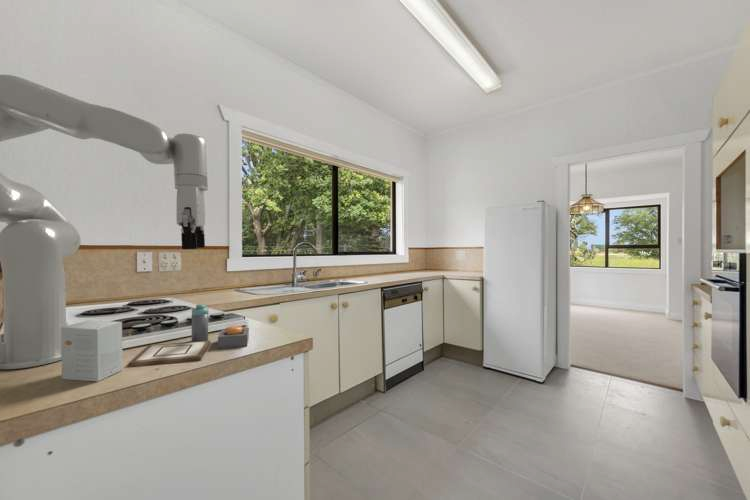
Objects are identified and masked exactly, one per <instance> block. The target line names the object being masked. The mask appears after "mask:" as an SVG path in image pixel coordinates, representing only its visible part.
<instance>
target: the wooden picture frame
mask: <svg viewBox="0 0 750 500" xmlns="http://www.w3.org/2000/svg"><path fill="white" fill-rule="evenodd" d="M210 345H211V340H208V341H199V342H192V341H187V342H186V341H185V342H173V343H159V344H157V343H156V344H148V345H147V346H146V347H145V348H143V350H141V351H140V352H139V353H138V354H137V355H136V356H135V357H134V358H132V359H131V360H130V361H129V362H128V367H139V366H150V365H161V364H163V365H164V364H172V363H173V364H174V363H175V364H176V363H183V362H184V363H185V362H195V361H196V362H197V361H202V359H203V357H204V355H205V353H206V352H207V350H208V349H209V346H210Z"/></svg>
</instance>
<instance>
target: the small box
mask: <svg viewBox="0 0 750 500" xmlns="http://www.w3.org/2000/svg"><path fill="white" fill-rule="evenodd" d="M123 358H124V357H123V322H122V321H111V320H110V321H108V320H107V321H106V320H85V321H81V322H76V323H73V324H68V325H66V326H64V327H61V360H60V361H61V379H62V380H68V381H69V380H70V381H82V382H96V383H97V382H100V381H103V380H104V379H106V378H108V377H110V376H113V375H115V374H117V373H119V372H121V371H123V369H124V368H123V367H124V365H123Z"/></svg>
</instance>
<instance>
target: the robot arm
mask: <svg viewBox="0 0 750 500" xmlns="http://www.w3.org/2000/svg"><path fill="white" fill-rule="evenodd" d="M48 129H49V130H50V129H51V130H53V131H56V132H59V133H62V134H64V135H68V136H70V137H73V138H76V139H80V140H90V139H95V140H96V139H97V140H101V141H105V142H107V143H108V142H109V143H111V144H114V145H118V146H120V147H123V148H126V149H129V150H132V151H134V152H137V153H139V154H140V155H141V156H142V157H143V158H144V159H145V160H146V161H148V162H149V163H152V164H155V165H172V164H173V174H174V175H173V176H174V179H173V180H174V189H176V224H177V226H179V227H181V229H180V232H181V234H180V236H181V249H182V250H196V249H200V248H202V249H203V248H205V247H206V243H205V242H206V240H205V239H206V238H205V228H204V226H205V224H206V210H205V208H206V206H205V195H204V192H205V191H208V188H209V187H208V167H207V165H208V163H207V160H208V159H207V144H206V141H205V139H204V138H203V137H201V136H199V135H197V134H192V133H177V134H176V135H174V136H173V137H169V136H168V135H167V134H166V132H165V131H164V129H161V127H159V126H157V125H155V124H154V123H151V122H149V121H147V120H144V119H141V118H139V117H137V116H133V115H132V114H129V113H127V112H124V111H122V110H119V109H118V110H117V109H115V108H111V107H107V106H101V105H99V104H94V103H89V102H87V101H84V100H81V99H78V98H76V97H73V96H70V95H67V94H64V93H63V92H59V91H57V90H55V89H52V88H49V87H46V86H44V85H41V84H39V83H36V82H34V81H31V80H28V79H25V78H22V77H20V76H15V75H12V74H11V75H10V74H0V142H5V141H9V140H12V139H17V138H21V137H23V136H24V137H25V136H28V135H33V134H37V133H40V132H43V131H46V130H48ZM0 222H1V223H5V224H7V225H6V226H4V228H2V229H1V231H0V266H1V272H2V273H1V274H2V293H3V341H2V342H0V370H19V369H28V368H34V367H39V366H42V365H48V364H53V363H55V362H58V361H62V360H61V327H64V326H67V299H66V298H67V293H66V292H67V290H66V289H67V288H66V273H65V267H64V263H63V259H64V258H68V257H70V256H72V255H73V254H75V253H76V252H77V251H78V249H80V246H81V236H80V233H79V232H78V230H77V229H76V227H75V226H74V225H73V224H72V223H71V222H70V220H68V218H66V217H65V216H64V215H63V214H62V213H61V212H60V210H59V209H57V208H56V206H54V204H53V203H52V202H51V201H50V200H49V199H48V198H47V197H46V196H45V195H44V194H42V193H41V192H40V191H38V190H37V189H35V188H34V187H32V186H29V185H26V184H24V183H20V182H17V181H14V180H11V179H10V178H8V177H7V176H6V175H4V174H3V173H2V172H1V171H0Z"/></svg>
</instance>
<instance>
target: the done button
mask: <svg viewBox="0 0 750 500" xmlns="http://www.w3.org/2000/svg"><path fill="white" fill-rule="evenodd" d="M242 328H243V326H241V325H231V326H227V327H226V328H225V329H226V335H236V334H242Z"/></svg>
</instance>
